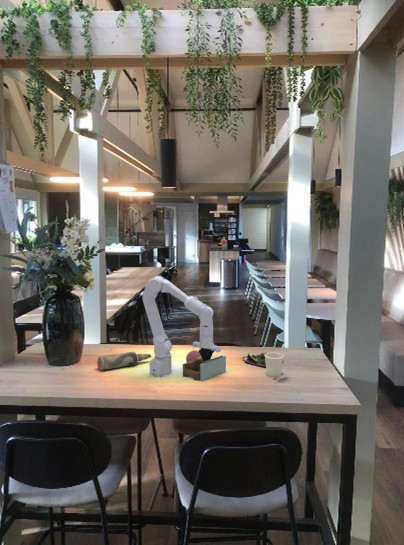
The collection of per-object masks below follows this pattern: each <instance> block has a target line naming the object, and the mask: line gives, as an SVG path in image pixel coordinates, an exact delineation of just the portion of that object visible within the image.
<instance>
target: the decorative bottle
mask: <svg viewBox="0 0 404 545" xmlns="http://www.w3.org/2000/svg"><path fill="white" fill-rule="evenodd" d="M150 358H152V355H151V354H150V353H136V352H135V351H128V352H122V353H116V354H115V353H114V354H107V355H99V356H98V357H97V362H96V363H97V368H98V370H99V371H104V370H112V369H118V368H125V367H133V366H136V365H138V363H140V362H142V361H145V360H148V359H150Z"/></svg>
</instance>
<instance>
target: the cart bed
mask: <svg viewBox="0 0 404 545" xmlns="http://www.w3.org/2000/svg"><path fill="white" fill-rule="evenodd" d="M200 364H203V360H202V358H199V359H196V360H193V361H190V362H185V363H183V364H182V377H184V378H191V379H193V381H196V382H198V381H201V376H200ZM201 382H202V381H201Z"/></svg>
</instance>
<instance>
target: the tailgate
mask: <svg viewBox="0 0 404 545" xmlns="http://www.w3.org/2000/svg"><path fill="white" fill-rule="evenodd" d="M225 372H227V355H223V354H222V355H220V356H216V357H214V358H211V359H210V360H207V361H205V362H204V363H203V364H200V376H201V382H203V381H206V380H209V379H210V378H213V377H216V376H218V375H221V374H223V373H225Z"/></svg>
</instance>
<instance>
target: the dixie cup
mask: <svg viewBox="0 0 404 545" xmlns="http://www.w3.org/2000/svg"><path fill="white" fill-rule="evenodd" d="M265 353H266V352H265ZM264 356H265V361H266V368H265V369H266V375H267V376H268V377H275V378H273V379H272V380H273V381H274V380H275V381H276V380H280V379H281V375H282V370H283V362H284V357H285V356H284V354H283V353H279V352H270V353H269V352H267V353H266V354H265V355H264Z"/></svg>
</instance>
